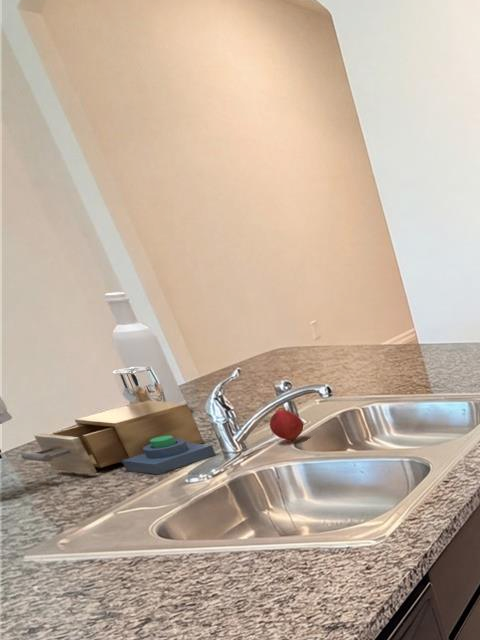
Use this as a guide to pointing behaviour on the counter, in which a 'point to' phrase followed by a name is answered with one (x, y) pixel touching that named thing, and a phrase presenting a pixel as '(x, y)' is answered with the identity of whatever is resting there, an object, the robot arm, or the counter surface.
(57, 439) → the drawer
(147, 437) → the cabinet
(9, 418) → the robot arm
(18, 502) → the counter surface
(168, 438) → the button
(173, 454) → the block
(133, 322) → the bottle
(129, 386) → the beer glass
